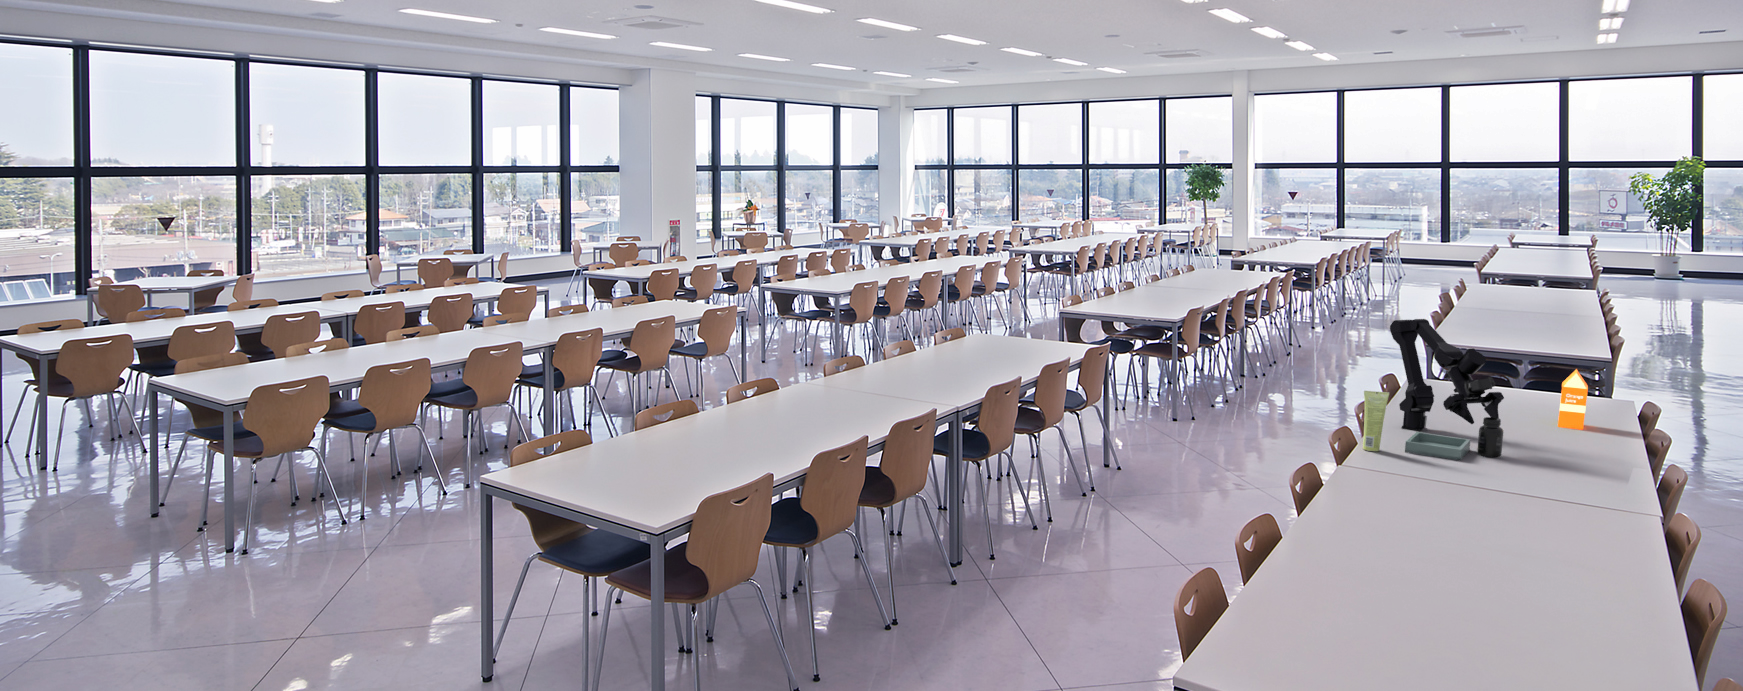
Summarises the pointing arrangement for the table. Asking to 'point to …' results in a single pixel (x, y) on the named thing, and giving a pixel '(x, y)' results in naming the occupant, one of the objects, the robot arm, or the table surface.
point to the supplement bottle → (1490, 438)
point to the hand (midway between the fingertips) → (1485, 422)
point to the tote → (1437, 446)
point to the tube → (1374, 419)
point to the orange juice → (1573, 402)
